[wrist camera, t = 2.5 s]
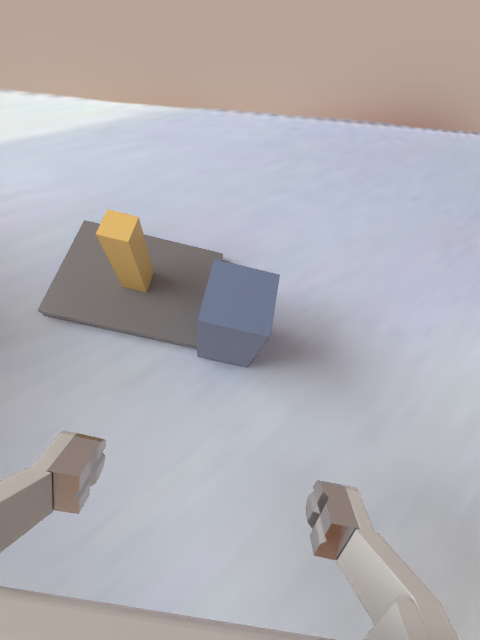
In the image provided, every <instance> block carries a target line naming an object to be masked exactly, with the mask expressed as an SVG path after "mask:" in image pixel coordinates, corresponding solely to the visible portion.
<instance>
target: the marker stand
mask: <svg viewBox="0 0 480 640" xmlns="http://www.w3.org/2000/svg"><path fill="white" fill-rule="evenodd" d="M222 257H223V254H222V253H218V252H214V251H209V250H205V249H201V248H197V247H193V246H189V245H185V244H181V243H176V242H172V241H168V240H164V239H160V238H156V237H152V236H148V235H143V231H142V227H141V224H140V220H139V217H136V216H132V215H128V214H124V213H120V212H116V211H112V210H107V212H106V214H105V216H104V218H103V220H102V222H101V224H98V223H94V222H90V221H86V220H84V222H83V224H82V226H81V228H80V230H79V232H78V234H77V235H76V237H75V239H74V241H73V243H72V245H71V247H70V249H69V251H68V253H67V255H66V257H65V259H64V261H63V262H62V264H61V266H60V268H59V270H58V272H57V274H56V276H55V278H54V280H53V282H52V284H51V286H50V288H49V289H48V291H47V293H46V295H45V297H44V299H43V301H42V303H41V305H40V307H39V309H38V311H39V312H40V313H42V314H43V315H46V316H51V317H55V318H60V319H64V320H69V321H73V322H78V323H82V324H87V325H92V326H96V327H101V328H105V329H110V330H114V331H119V332H123V333H128V334H132V335H137V336H141V337H146V338H150V339H155V340H159V341H164V342H168V343H173V344H177V345H182V346H186V347H191V348H195V349H197V328H198V317H199V313H200V309H201V306H202V302H203V298H204V295H205V291H206V287H207V283H208V280H209V276H210V272H211V268H212V265H213V261H214V259H216V260H220V261H222Z"/></svg>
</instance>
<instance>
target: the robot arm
mask: <svg viewBox="0 0 480 640" xmlns="http://www.w3.org/2000/svg"><path fill="white" fill-rule="evenodd" d="M105 447H106V440H105V439H101V438H96V437H92V436H87V435H83V434H78V433H73V432H68V431H63V432H61V433H60V434H59V435H58V436H57V437H56V438H55V440H54V441H53V442H52V443H51V444H50V446H49V447H48V448H47V449H46V450H45V452H44V453H43V454H42V455H41V456H40V458H39V459H38V460H37V461H36V462H35V464H34V465H33V466H32V467H31V468H25V469H23V470H21V471H19V472H17V473H15V474H13V475H11V476H9V477H8V478H6V479H4V480H2V481H0V553H1V552H2V551H3V550H4V549H6V548H7V547H8V546H9V545H11V544H12V543H13V542H15V541H16V540H17V539H18V538H20V537H21V536H22V535H24V534H25V533H26V532H27V531H29V530H30V529H31V528H33V527H34V526H35V525H36V524H38V523H39V522H40V521H42V520H43V519H44V518H45V517H47V516H48V515H49V514H51V513H52V512H53V510H56V511H63V512H70V513H77V514H79V513H80V511H81V509H82V507H83V505H84V504H85V502H86V500H87V498H88V496H89V491H90V487H91V486H92V485H94V484H95V483H96V482H97V480H98V478H99V476H100V474H101V471H102V469H103V465H104V461H105V455H104V453H103V450H104V449H105ZM313 488H314V492H313V493H311V494H309V497H308V499H307V504H306V516H307V522H308V523H309V525H310V526H311V528H312V529H313V530H312V532H311V534H310V538H311V544H312V549H313V554H314V556H319V557H323V558H328V559H333V560H337V561H336V562H337V564H338V565H339V567H340V569H341V570H342V572H343V573H344V575H345V577H346V578H347V580H348V582H349V583H350V585H351V587H352V588H353V590H354V591H355V593H356V595H357V596H358V598H359V600H360V601H361V603H362V604H363V606H364V608H365V609H366V611H367V613H368V614H369V616H370V617H371V619H372V621H373V622H374V624H375V625H374V627H373V628H372V629H371V630H370V631H369V633H368V634H367V635H366V637H365V639H364V640H459V639H458V637H457V635H456V633H455V631H454V629H453V627H452V625H451V623H450V621H449V618H448V616H447V614H446V612H445V610H444V608H443V606H442V604H441V603H440V602H439V600H438V599H437V598H436V597H435V596H434V595H433V594H432V593H431V592H430V590H429V589H428V588H427V587H426V586H425V585H424V584H423V583H422V581H421V580H420V579H419V578H418V577H417V576H416V575H415V574H414V572H413V571H412V570H411V569H410V568H409V567H408V566H407V565H406V564H405V562H404V561H403V560H402V559H401V558H400V557H399V556H398V555H397V553H396V552H395V551H394V550H393V549H392V548H391V547H390V546H389V545H388V543H387V542H386V541H385V540H384V539H383V538H382V537H381V536H380V534H379V533H376V532H374V530H373V527H372V525H371V522H370V520H369V517H368V515H367V512H366V509H365V507H364V504H363V502H362V499H361V497H360V494H359V492H358V490H357V489H356V487H350V486H345V485H341V484H336V483H330V482H324V481H319V480H318V481H316V482H315V484H314V486H313ZM0 640H334V639H328V638H322V637H316V636H309V635H303V634H297V633H291V632H284V631H278V630H272V629H266V628H259V627H253V626H247V625H241V624H235V623H228V622H222V621H216V620H210V619H203V618H197V617H191V616H184V615H178V614H172V613H166V612H159V611H153V610H147V609H141V608H134V607H128V606H122V605H116V604H109V603H103V602H97V601H90V600H84V599H78V598H72V597H65V596H59V595H53V594H46V593H40V592H34V591H28V590H21V589H15V588H9V587H2V586H0Z"/></svg>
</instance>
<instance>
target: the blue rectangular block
mask: <svg viewBox="0 0 480 640" xmlns="http://www.w3.org/2000/svg"><path fill="white" fill-rule="evenodd" d="M279 276H280V275H278V274H274V273H270V272H266V271H262V270H257V269H253V268H249V267H245V266H241V265H237V264H233V263H228V262H224V261H220V260H216V259H214V261H213V265H212V268H211V272H210V276H209V280H208V283H207V287H206V291H205V295H204V298H203V302H202V306H201V309H200V313H199V317H198V328H197V357H202V358H206V359H211V360H215V361H220V362H225V363H229V364H234V365H238V366H243V367H248V365H249V364H250V363H251V362H252V360H253V359H254V358H255V356H256V355H257V354H258V352H259V351H260V350H261V348H262V347H263V346H264V345H265V343H266V342H267V341H268V339H269V338H270V335H271V328H272V322H273V315H274V309H275V302H276V296H277V289H278V283H279Z"/></svg>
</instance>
